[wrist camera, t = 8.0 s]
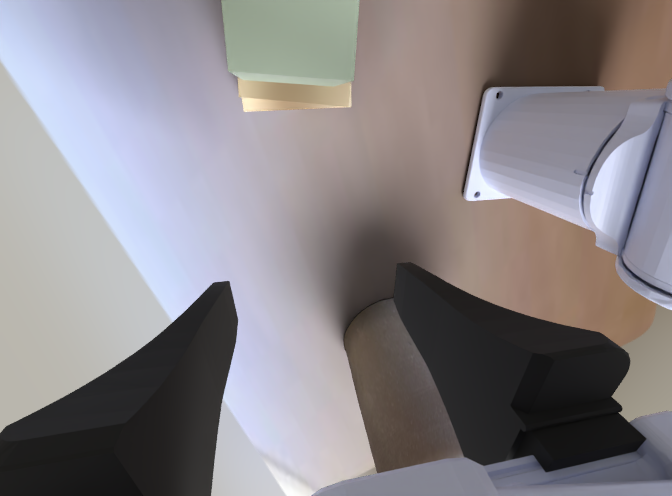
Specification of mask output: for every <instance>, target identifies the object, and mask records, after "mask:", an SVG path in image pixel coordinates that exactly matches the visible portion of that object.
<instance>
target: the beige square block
mask: <svg viewBox="0 0 672 496" xmlns="http://www.w3.org/2000/svg"><path fill="white" fill-rule="evenodd" d="M350 86H351V82H348V83H344V84H341V85H337V86H334V87H332V86H318V85H304V84H290V83H277V82H263V81H249V80H242V79H240V78H239V77H238V90H239V97H244V98H253V99H264V100H275V101H286V102H296V103H307V104H318V105H329V106H340V107H349V97H350Z"/></svg>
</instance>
